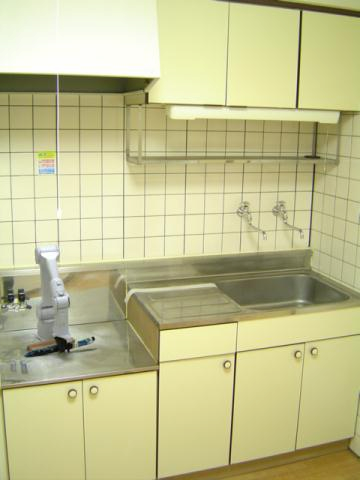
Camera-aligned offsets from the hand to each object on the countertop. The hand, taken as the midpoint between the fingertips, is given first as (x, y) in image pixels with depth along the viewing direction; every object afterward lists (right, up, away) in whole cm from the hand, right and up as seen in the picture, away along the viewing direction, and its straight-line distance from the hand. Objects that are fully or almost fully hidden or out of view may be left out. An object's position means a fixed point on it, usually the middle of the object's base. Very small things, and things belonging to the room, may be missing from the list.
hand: (62, 352), depth 232 cm
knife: (-1, -1, +1) cm, 2 cm away
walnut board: (-7, +1, +8) cm, 11 cm away
